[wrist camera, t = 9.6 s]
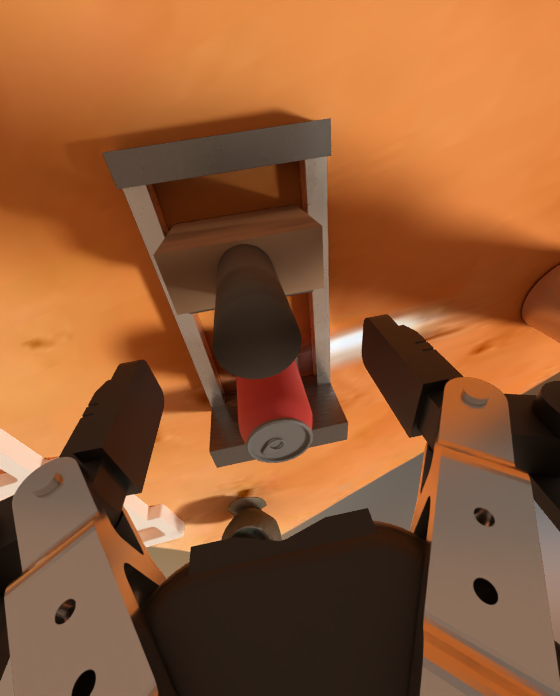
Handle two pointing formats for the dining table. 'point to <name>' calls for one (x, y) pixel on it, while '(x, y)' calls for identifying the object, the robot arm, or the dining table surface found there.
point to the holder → (163, 522)
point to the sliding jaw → (245, 282)
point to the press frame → (225, 438)
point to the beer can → (274, 416)
